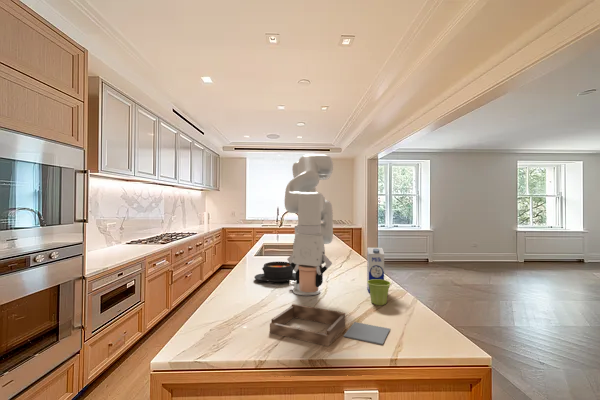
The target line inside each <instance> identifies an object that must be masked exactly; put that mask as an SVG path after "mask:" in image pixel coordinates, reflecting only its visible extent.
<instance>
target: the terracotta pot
mask: <svg viewBox="0 0 600 400" xmlns="http://www.w3.org/2000/svg"><path fill="white" fill-rule="evenodd" d="M319 267H320V266H319ZM298 269H299V290H300V291H303V292H316V291H318V289H320V288H319V287H320V286H319V287H316V275H317V271H316V268H315V267H312V266H304V265H300V266H299V265H298Z"/></svg>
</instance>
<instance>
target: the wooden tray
mask: <svg viewBox="0 0 600 400" xmlns="http://www.w3.org/2000/svg"><path fill="white" fill-rule="evenodd" d="M293 318H296V319H301V320H306V321H311V322H315V323H321V324H326V325H330V326H329V327H328V329H327V330H326V332H325V333H323V332H319V331H313V330H309V329H305V328H300V327H295V326H291V325H286V324H287V323H289V322H290V321H291V320H293ZM270 321H271V322H270V323H269V334H274V335H278V336H282V337H286V338H290V339H291V338H292V339H296V340H300V341H304V342H308V343H313V344H317V345H321V346H325V347H329V346H331V344H332V343H333V341H334V340H335V339H336V338H337V337H338V336H339V334H340V333H341V332H342V331H343V330H344V329H345V327H346V312H343V311H342V312H341V311H337V310H330V309H326V308H325V309H324V308H320V307H313V306H307V305H302V304H296V303H292V304H291V306H289V307H288V308H286V309H285V310H283V311H281V312H280V313H278V314H277V315H276V316H274V317H272V318H271V320H270Z"/></svg>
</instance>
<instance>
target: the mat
mask: <svg viewBox="0 0 600 400" xmlns="http://www.w3.org/2000/svg"><path fill="white" fill-rule="evenodd" d="M390 331H391V328H387V327H383V326H378V325H372V324H369V323H368V324H367V323H362V322H356V321H354V322H353V323H352V325H350V327H349V328H348V329H347V330H346V332H345V333H344V334H343V337H344V338H347V339H353V340H355V341H356V340H357V341H361V342H366V343H371V344H376V345H380V346H383V345H384V343H385V341H386V340H387V338H388V335H389V333H390Z"/></svg>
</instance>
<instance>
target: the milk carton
mask: <svg viewBox="0 0 600 400" xmlns="http://www.w3.org/2000/svg"><path fill="white" fill-rule="evenodd" d="M366 251H367V261H366V262H367V263H366V264H367V268H366V269H367V272H366V273H367V274H366V277H367V278H366V282H367V281H368V280H372V279H380V280H385V252H384V249H383V247H367V249H366ZM366 286H367V287H366V288H367V292H368V293H369V294H370V289H369V285H368V283H366Z"/></svg>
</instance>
